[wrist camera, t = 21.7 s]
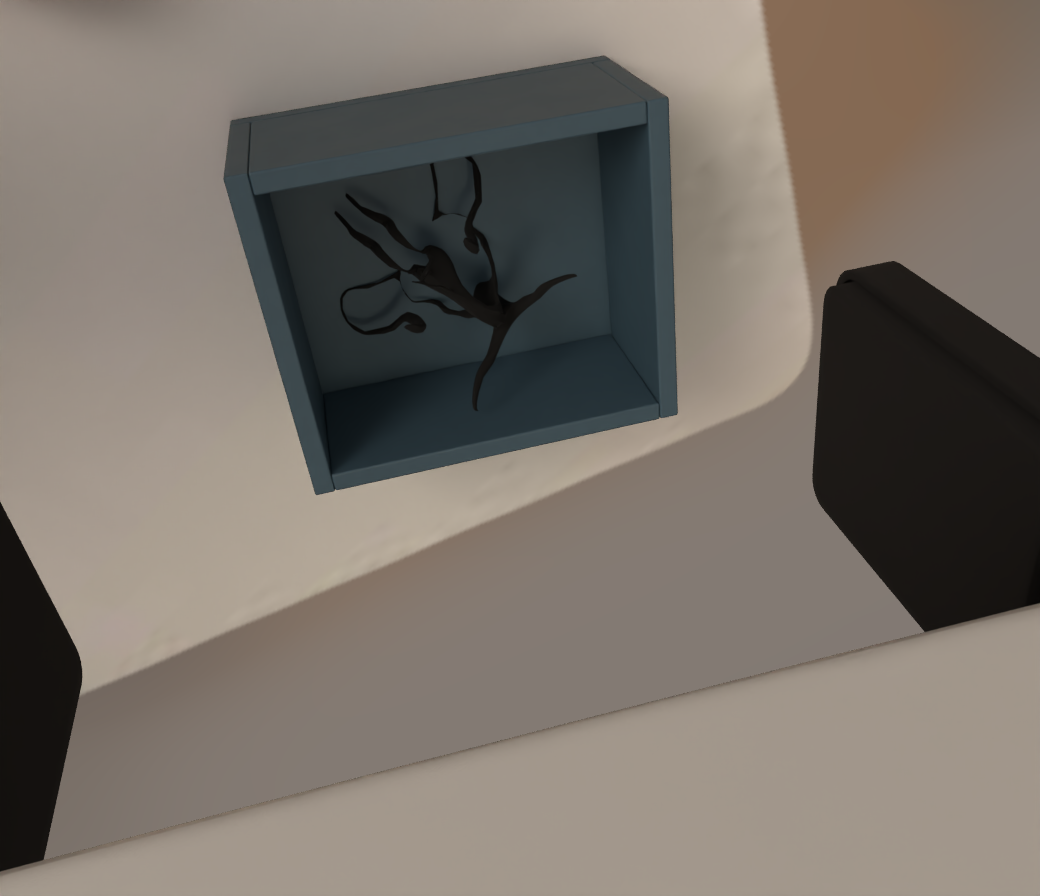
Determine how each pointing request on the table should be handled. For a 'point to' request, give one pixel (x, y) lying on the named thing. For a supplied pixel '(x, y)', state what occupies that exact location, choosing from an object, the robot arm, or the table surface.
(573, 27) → the table surface
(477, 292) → the creature
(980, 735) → the robot arm
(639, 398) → the teal open box
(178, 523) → the table surface
